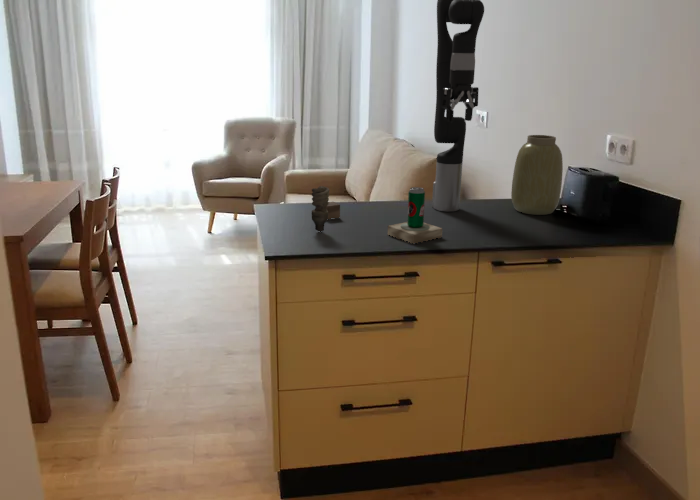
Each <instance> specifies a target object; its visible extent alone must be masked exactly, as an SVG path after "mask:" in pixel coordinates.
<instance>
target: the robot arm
mask: <svg viewBox="0 0 700 500" xmlns="http://www.w3.org/2000/svg"><path fill="white" fill-rule="evenodd" d="M484 14H485V6H484V3H483V2H482V1H481V0H437V1H436V25H437V26H436V28H437V29H436V31H437V32H436V33H437V49H436V50H437V51H436V52H437V53H436V54H437V55H436V69H435V71H436V72H435V74H436V86H435V88H436V89H435V90H436V95H435V97H436V103H435V112H434V113H435V114H434V125H433V127H434V130H433V134H434V140H435V142H436V143H437V144H453V146H452V147H450V148H449V149H447V150H444V151H442V152H441V151H440V152H439V153H438V154H437V156H436V166H435V167H436V168H435V169H436V170H435V181H433V185H432V201H431V202H432V204H431V207H432V208H433V209H434V210H436V211H440V212H457V211H459V210H460V204H461V203H460V202H461V201H460V200H461V189H462V179H463V178H462V175H463V162H464V161H463V160H464V150H465V149H464V148H465V141H466V132H467V131H466V130H467V121H468V122H469V121H470V122H471V121H472V119H473V109H474V108H475V107H478V106H479V87H477V86H472V85H473V84H474V83H475V82H474V81H475V69H476V55H475V54H476V43H477V37H478V33H479V30H480V29H479V28H480V26H481V23H482V20H483V18H484ZM447 23H451V24H454V25H470V27H469V29H467V30H466V31H462V32H457V33H454V35H453V37H451V35H450V32H449V30H448V29H449V28H448V25H447ZM459 103H462V104H464V106H465V109H464V110H465V112H464V117H463V116H454V113H455V112H454V109H455V107H456V105H458V104H459Z"/></svg>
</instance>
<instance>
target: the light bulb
mask: <svg viewBox="0 0 700 500" xmlns="http://www.w3.org/2000/svg"><path fill="white" fill-rule="evenodd" d="M311 192H312V193H311V196H312V198H311V201H312V202H311V205H312V206H314V209H313V210H311V220H312V221H313V223H314V229H315V230H316V231H317V232H318V231H320V232H321V231H322V232H324V231H325V225H326V222H327V221H328V220H327V219H328V211H327V210H326V209H325V207H326V206H327V205H328V204H329V203H328V202H330V201H329V200H330V199H329V196H330V188H329V187H327V186H324V185H320V186H318V187H317V188H312V189H311ZM322 232H321V233H322Z"/></svg>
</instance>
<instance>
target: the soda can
mask: <svg viewBox="0 0 700 500" xmlns="http://www.w3.org/2000/svg"><path fill="white" fill-rule="evenodd" d="M407 196H408V197H407V221H406V222H407V225H408V226H409V227H411V228H421V227H422V226H423V225H424V223H425V222H424V221H425V200H426V191H425V189H424V187H419V186H414V187H410V188H409V190H408V195H407Z"/></svg>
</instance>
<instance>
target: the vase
mask: <svg viewBox="0 0 700 500" xmlns="http://www.w3.org/2000/svg"><path fill="white" fill-rule="evenodd" d="M526 139H527V140H526V142H525V143H524V144H523V145H522V146H521V147H520V149H519V151H518V152H517V156H516V159H515V164H514V169H513V174H512V181H511V182H512V184H511V193H510V194H511V196H510V197H511V202H512V205H513V208H514V209H515V210H516V211H517V212H519V213H521V212H522V213H521V214H527V215H533V216H534V215H536V216H541V215H543V216H545V215H550V214H552V213H554V212H555V210H556V209H557V207H558V205H559V202H560V198H561V192H562V184H563V174H564V173H563V170H564V169H563V167H564V166H563V163H564V162H563V161H564V160H563V154H562V151H561V148H560V147H559V146H558V145H557V144H556V140H557V138H556V136H554V135H546V134H529V135H527V138H526Z"/></svg>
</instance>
